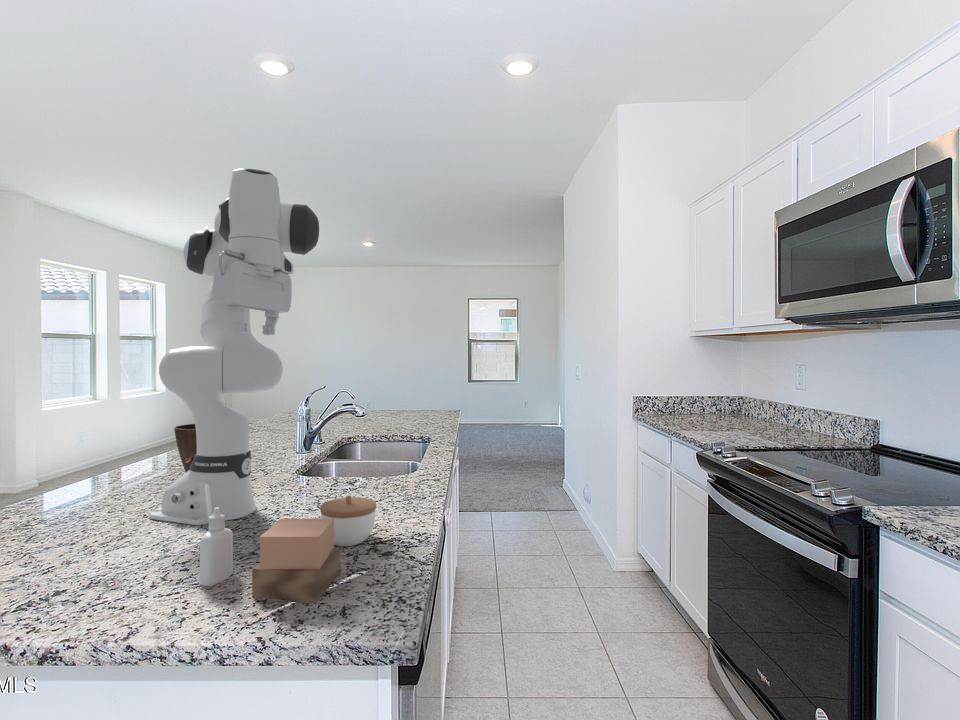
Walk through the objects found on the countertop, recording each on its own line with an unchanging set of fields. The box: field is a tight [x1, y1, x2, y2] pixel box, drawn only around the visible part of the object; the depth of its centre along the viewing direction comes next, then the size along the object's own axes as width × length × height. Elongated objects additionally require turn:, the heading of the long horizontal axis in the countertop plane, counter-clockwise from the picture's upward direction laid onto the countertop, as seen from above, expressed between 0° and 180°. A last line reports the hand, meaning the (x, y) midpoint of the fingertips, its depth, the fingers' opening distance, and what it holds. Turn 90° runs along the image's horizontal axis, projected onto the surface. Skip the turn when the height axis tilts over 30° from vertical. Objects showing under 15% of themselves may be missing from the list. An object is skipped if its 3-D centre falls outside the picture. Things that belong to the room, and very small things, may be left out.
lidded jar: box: [320, 495, 377, 547], centre depth 105 cm, size 11×11×9 cm
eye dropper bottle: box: [199, 507, 234, 587], centre depth 88 cm, size 4×6×12 cm
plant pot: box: [173, 423, 197, 473], centre depth 158 cm, size 15×15×16 cm
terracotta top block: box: [259, 517, 335, 570], centre depth 85 cm, size 9×9×5 cm
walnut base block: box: [251, 547, 342, 605], centre depth 85 cm, size 10×10×5 cm
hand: (255, 334), depth 97 cm, fingers open, 8 cm apart
